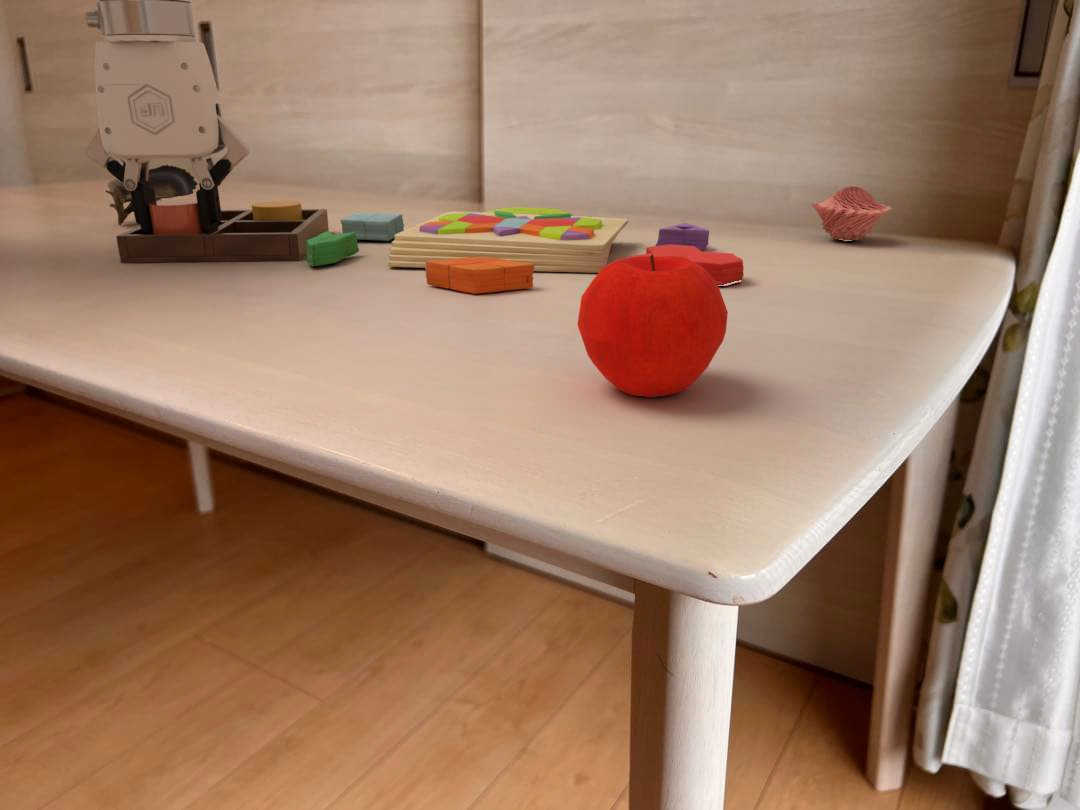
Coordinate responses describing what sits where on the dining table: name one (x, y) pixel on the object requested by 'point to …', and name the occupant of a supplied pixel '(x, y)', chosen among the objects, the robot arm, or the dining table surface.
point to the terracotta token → (175, 216)
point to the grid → (228, 240)
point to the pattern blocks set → (509, 246)
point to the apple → (652, 323)
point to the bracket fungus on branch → (163, 182)
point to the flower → (850, 213)
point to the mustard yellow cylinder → (277, 210)
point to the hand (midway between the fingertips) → (180, 228)
